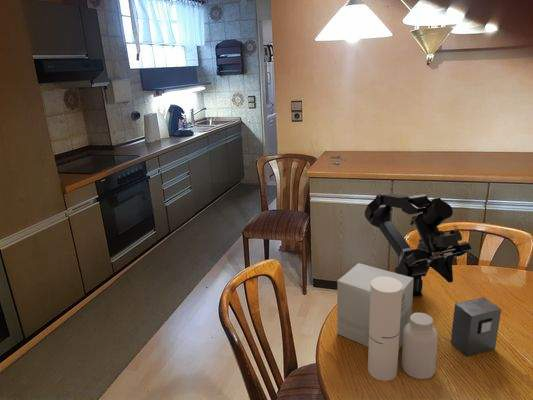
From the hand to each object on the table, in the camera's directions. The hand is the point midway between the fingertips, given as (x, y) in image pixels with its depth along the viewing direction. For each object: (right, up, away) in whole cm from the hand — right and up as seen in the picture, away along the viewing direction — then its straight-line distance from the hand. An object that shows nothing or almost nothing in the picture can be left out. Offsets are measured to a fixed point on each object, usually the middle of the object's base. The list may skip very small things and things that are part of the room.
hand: (451, 282), depth 113 cm
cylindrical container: (-23, -20, -12) cm, 33 cm away
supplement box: (-22, -16, +2) cm, 27 cm away
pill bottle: (-14, -20, -12) cm, 27 cm away
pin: (+3, -10, -7) cm, 13 cm away
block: (+3, -16, -5) cm, 17 cm away
